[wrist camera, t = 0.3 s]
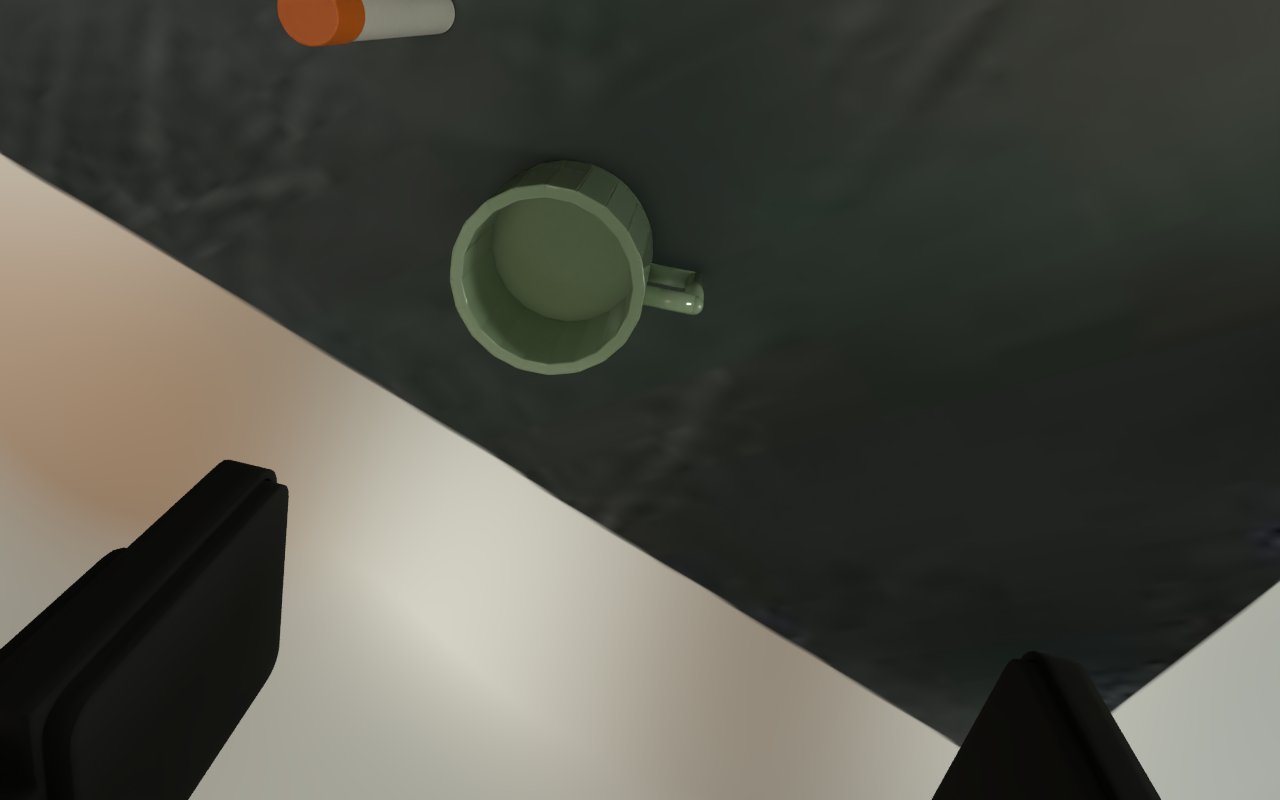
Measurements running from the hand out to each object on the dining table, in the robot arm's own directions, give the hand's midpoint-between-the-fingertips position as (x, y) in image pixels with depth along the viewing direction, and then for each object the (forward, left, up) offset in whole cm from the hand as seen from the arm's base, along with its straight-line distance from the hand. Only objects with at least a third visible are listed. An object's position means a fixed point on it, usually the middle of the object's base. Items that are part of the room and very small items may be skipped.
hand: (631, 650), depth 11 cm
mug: (+3, -6, -36) cm, 37 cm away
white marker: (-11, -9, -36) cm, 39 cm away
